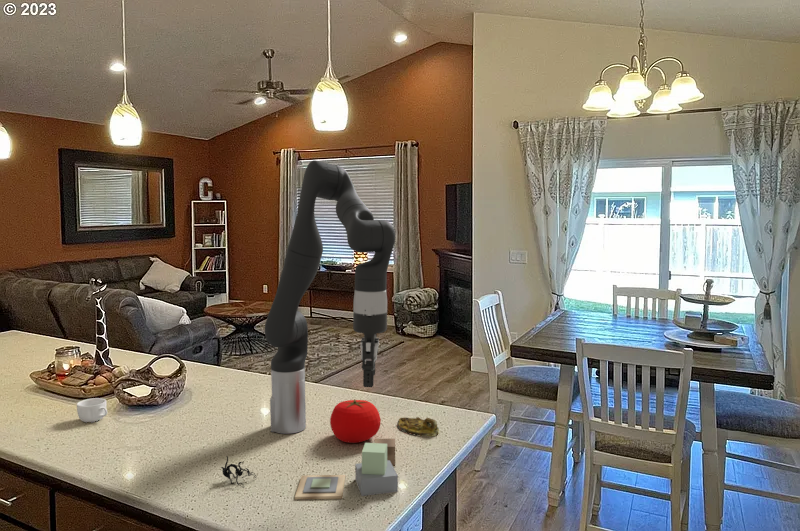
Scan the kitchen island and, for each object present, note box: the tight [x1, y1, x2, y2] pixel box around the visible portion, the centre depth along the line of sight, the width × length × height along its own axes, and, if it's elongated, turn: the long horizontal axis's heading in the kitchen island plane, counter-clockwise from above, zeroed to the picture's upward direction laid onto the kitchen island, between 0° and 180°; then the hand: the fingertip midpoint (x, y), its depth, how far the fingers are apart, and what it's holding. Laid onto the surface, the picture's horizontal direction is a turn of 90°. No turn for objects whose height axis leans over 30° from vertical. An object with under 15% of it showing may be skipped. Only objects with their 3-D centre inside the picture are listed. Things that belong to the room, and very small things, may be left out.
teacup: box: [76, 397, 108, 423], centre depth 172 cm, size 10×8×5 cm
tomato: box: [329, 398, 382, 444], centre depth 157 cm, size 14×13×10 cm
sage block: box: [361, 442, 387, 475], centre depth 130 cm, size 5×5×5 cm
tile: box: [294, 474, 346, 500], centre depth 129 cm, size 10×10×1 cm
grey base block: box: [354, 460, 399, 497], centre depth 131 cm, size 8×8×4 cm
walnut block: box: [373, 438, 396, 467], centre depth 142 cm, size 5×5×5 cm
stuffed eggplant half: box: [397, 416, 440, 437], centre depth 164 cm, size 9×5×15 cm
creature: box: [220, 455, 257, 488], centre depth 133 cm, size 8×5×8 cm
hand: (369, 380), depth 132 cm, fingers open, 8 cm apart
